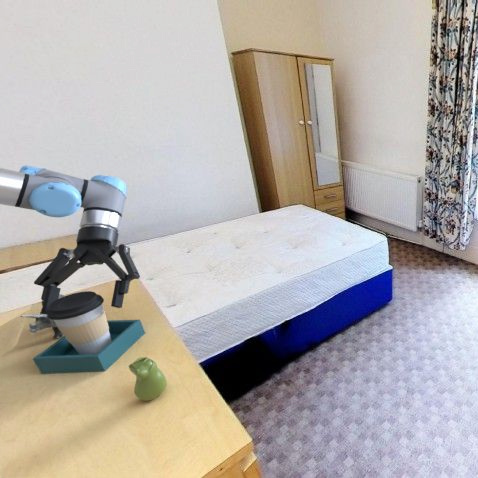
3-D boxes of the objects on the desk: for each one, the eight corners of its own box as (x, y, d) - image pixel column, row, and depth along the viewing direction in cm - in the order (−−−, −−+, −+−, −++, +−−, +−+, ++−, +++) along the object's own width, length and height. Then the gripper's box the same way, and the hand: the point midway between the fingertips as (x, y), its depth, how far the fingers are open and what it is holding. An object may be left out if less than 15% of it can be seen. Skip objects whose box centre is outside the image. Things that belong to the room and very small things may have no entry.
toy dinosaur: (51, 313, 94) (34, 281, 90) (91, 303, 99) (77, 271, 95) (39, 356, 79) (18, 319, 75) (87, 341, 84) (70, 305, 80)
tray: (41, 373, 74) (32, 358, 72) (91, 334, 87) (84, 320, 85) (104, 371, 76) (97, 356, 74) (145, 333, 88) (140, 319, 86)
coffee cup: (83, 341, 83) (59, 293, 77) (128, 333, 87) (108, 286, 81) (61, 367, 75) (32, 315, 69) (111, 358, 79) (88, 308, 73)
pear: (174, 391, 71) (161, 357, 67) (146, 410, 67) (130, 374, 63) (161, 381, 74) (148, 348, 70) (133, 398, 69) (117, 363, 65)
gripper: (162, 233, 91) (151, 306, 84) (52, 239, 85) (31, 319, 78) (146, 222, 85) (134, 301, 77) (26, 227, 78) (1, 314, 71)
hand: (82, 310), depth 78 cm, fingers open, 13 cm apart
